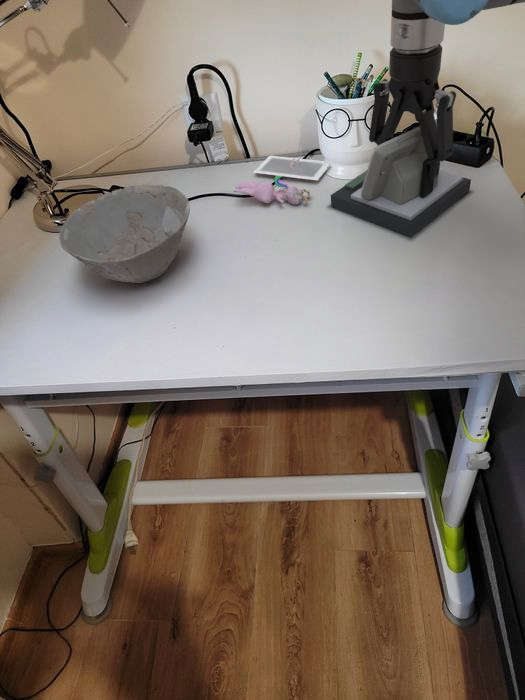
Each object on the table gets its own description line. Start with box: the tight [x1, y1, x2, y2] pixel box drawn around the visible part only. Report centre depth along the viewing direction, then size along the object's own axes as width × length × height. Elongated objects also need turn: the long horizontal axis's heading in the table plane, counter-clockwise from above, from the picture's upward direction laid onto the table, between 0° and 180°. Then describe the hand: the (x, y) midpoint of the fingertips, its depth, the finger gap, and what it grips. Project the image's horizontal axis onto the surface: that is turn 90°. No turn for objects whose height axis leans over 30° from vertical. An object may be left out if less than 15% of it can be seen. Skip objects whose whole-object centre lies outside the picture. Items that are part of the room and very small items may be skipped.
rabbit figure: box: [233, 175, 311, 206], centre depth 99 cm, size 6×6×15 cm
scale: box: [330, 168, 472, 239], centre depth 94 cm, size 18×18×3 cm
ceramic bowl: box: [58, 184, 191, 284], centre depth 88 cm, size 22×23×10 cm
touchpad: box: [252, 155, 328, 181], centre depth 108 cm, size 8×15×2 cm, turn 62°
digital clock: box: [361, 118, 439, 205], centre depth 88 cm, size 16×9×11 cm, turn 111°
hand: (406, 187), depth 91 cm, fingers closed on digital clock, 8 cm apart
